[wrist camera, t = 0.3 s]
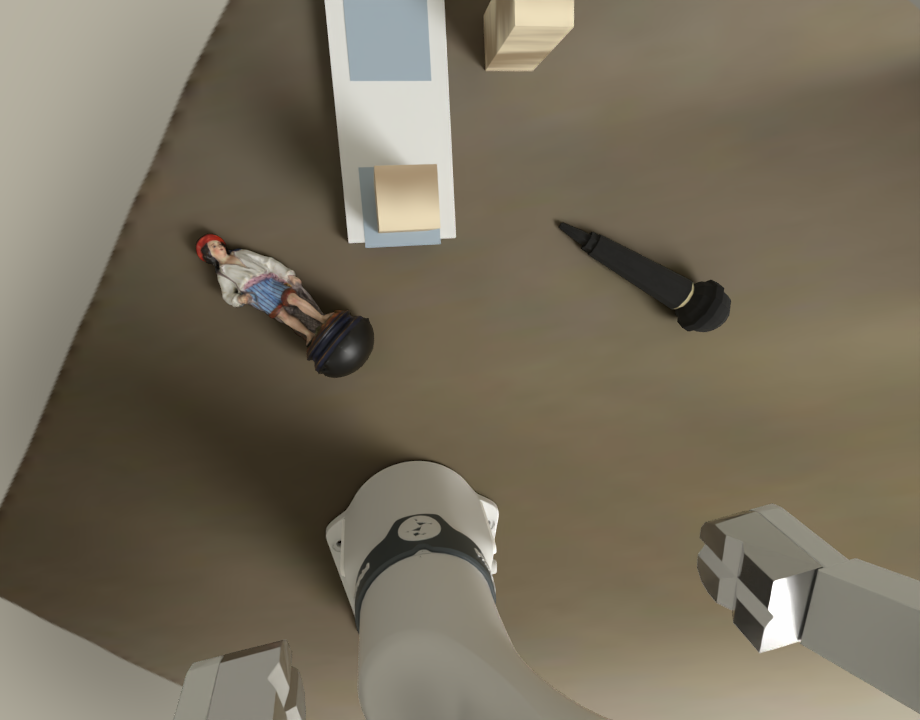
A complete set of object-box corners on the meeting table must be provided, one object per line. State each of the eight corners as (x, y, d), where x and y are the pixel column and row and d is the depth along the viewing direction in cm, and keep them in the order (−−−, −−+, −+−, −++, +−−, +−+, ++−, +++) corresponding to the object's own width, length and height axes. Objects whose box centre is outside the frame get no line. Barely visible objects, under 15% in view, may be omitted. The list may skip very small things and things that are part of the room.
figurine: (333, 398, 43) (162, 247, 40) (332, 395, 49) (186, 266, 46) (392, 335, 44) (233, 185, 41) (384, 340, 51) (246, 211, 48)
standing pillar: (426, 230, 47) (440, 228, 37) (378, 233, 46) (379, 231, 36) (423, 180, 46) (437, 164, 36) (373, 181, 45) (374, 165, 35)
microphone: (544, 242, 54) (695, 329, 56) (547, 255, 49) (714, 350, 51) (572, 196, 51) (729, 288, 54) (579, 204, 46) (752, 306, 49)
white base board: (453, 243, 49) (456, 243, 47) (349, 248, 47) (349, 248, 46) (441, -2, 44) (443, -11, 42) (324, -5, 42) (323, -14, 41)
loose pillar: (532, 71, 47) (573, 26, 37) (485, 71, 46) (514, 25, 36) (531, 16, 45) (574, -44, 36) (483, 15, 45) (513, -47, 35)
